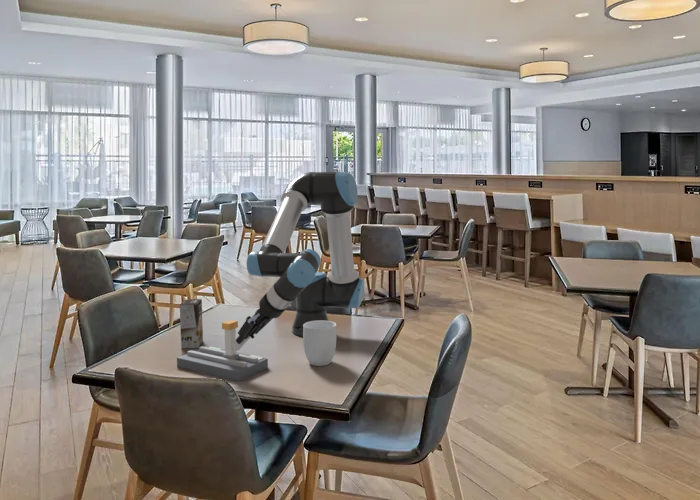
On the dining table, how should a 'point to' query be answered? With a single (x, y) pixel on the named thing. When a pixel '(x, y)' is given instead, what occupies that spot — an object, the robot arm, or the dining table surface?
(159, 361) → the dining table surface
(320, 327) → the mug
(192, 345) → the coffee box
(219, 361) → the switch panel
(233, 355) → the lever
